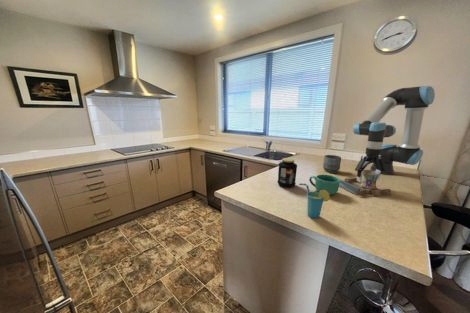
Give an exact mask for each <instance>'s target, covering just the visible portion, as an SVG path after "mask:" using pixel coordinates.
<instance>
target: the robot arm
mask: <svg viewBox="0 0 470 313" xmlns="http://www.w3.org/2000/svg"><path fill="white" fill-rule="evenodd" d="M435 95H436V93H435V89H434V87H433V86H431V85H421V86H412V87H402V88H398V89H396V90H393V91H391V92H390V93H388V94H387V95H385V97H383V98H382V99H381V101H380V103H379V105H378V106H376V108H375V109H374V110H373V111H372V112H371V113H370V114H369V115H368V116H367V117H366V118H365V119H364V121H363V120H362V122H361V123H355V124H354V126H353V128H352V132H353V134H354V135H359V136H367V142H366V148H365V154H366V156H364V155H361V157H360V160H359V161H358V163H357V165H356V167H355V169H354V171H356V172H357V173H356V176H357V177H356V178H357V181H358V182H363V172H362V171H363V170H366V168H367V166H368V165H371V164H372V165H371V166H370V169H369V170H373V171H377V172H379V173H381V174H380V175H379V177H378V178H377V181H380V177H381V175H394V172H395V169H394V165H393V164H394V162H395V163H400V164H405V165H410V166H414V165H415V166H416V165H417V164H418V163H419V162H420V161H421V159H422V157H423V155H424V150H422V149H421V146H420V144H419V141H420V140H419V139H420V135H421V129H422V124H423V118H424V114H425V110H426V109H428V107H429V105H433V103H434V101H435ZM398 106H404V109H405V110H406V113H405V114H406V115H405V121H404V126H403V131H402V132H403V133H402V137H401V142H400V143H399V144H398V145H397V144H396V143H384V139H385V138H391V137H393V136H394V135H395V134H396V133H397V128H396V126H394V125H391V124H387V123H386V122H381V121H382V119H383V118H385V116H386V115H387V114H388V113H389V111H391V110H392V109H394V108H396V107H398Z"/></svg>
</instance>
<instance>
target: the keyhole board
mask: <svg viewBox="0 0 470 313" xmlns="http://www.w3.org/2000/svg"><path fill="white" fill-rule="evenodd" d="M338 179H339V180H340V183H339V188H341V189H343V190H345V191H347V192H349V193H351V194H352V195H355V196H356V197H359V198H360V199H362V198H370V197H378V196H380V197H381V196H388V195H391V192H392V190H391V189H390V188H385V189H381V188H378V187H377V189H374V190H372V189H366V188H363V187H362V186H361V184H362V182H363V181H361V182H358V181H357V177H351V178H350V177H349V178H344V180H343V179H340V178H338Z"/></svg>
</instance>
